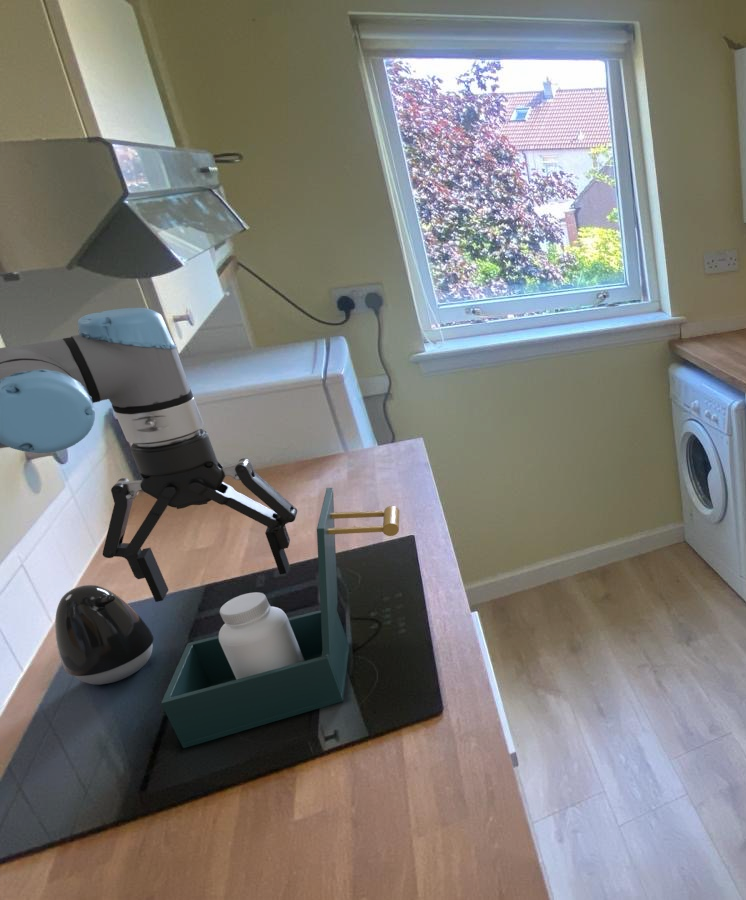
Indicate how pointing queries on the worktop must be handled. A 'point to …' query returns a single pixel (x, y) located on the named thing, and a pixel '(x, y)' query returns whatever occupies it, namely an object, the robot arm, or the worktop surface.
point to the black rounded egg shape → (100, 636)
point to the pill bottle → (256, 636)
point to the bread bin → (253, 685)
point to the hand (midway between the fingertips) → (225, 582)
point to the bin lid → (328, 555)
